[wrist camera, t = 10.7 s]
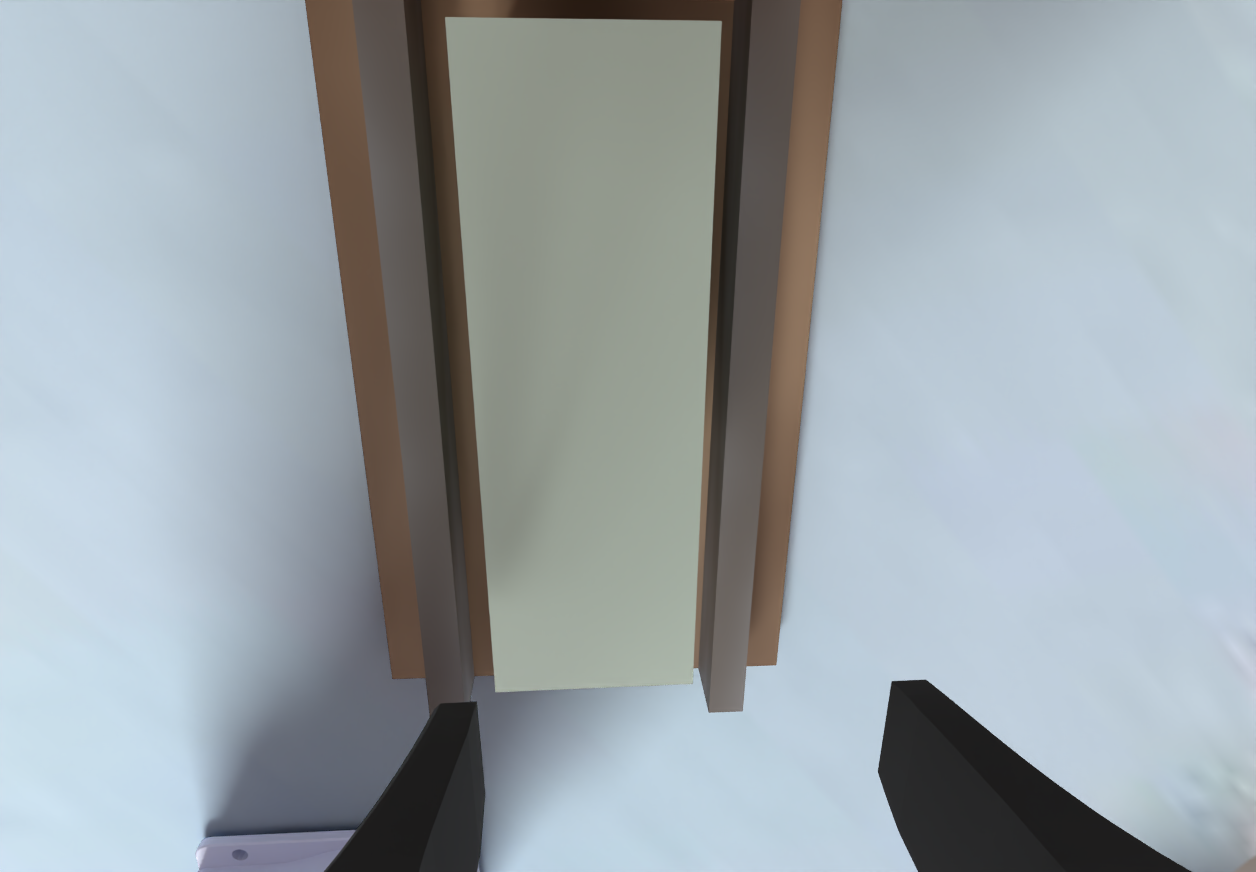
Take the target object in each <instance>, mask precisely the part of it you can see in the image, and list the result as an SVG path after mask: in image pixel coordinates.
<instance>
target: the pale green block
mask: <svg viewBox="0 0 1256 872" xmlns="http://www.w3.org/2000/svg"><path fill="white" fill-rule="evenodd" d="M445 24H446V37H447V50H448V64H449V77H450V91H451V104H452V117H453V131H454V144H455V158H456V171H457V184H458V198H459V211H460V225H461V238H462V251H463V265H464V278H465V292H466V305H467V318H468V332H469V345H470V359H471V372H472V385H473V399H474V412H475V426H476V439H477V452H478V466H479V479H480V493H481V506H482V519H483V533H484V546H485V560H486V573H487V586H488V600H489V613H490V627H491V640H492V653H493V667H494V680H495V692H514V691H538V690H562V689H585V688H609V687H633V686H656V685H680V684H693V666H694V643H695V620H696V597H697V574H698V552H699V529H700V506H701V483H702V460H703V438H704V415H705V392H706V369H707V347H708V324H709V301H710V278H711V255H712V233H713V210H714V187H715V164H716V141H717V119H718V96H719V73H720V50H721V27H722V21H691V20H620V19H548V18H476V17H445Z"/></svg>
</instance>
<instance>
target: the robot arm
mask: <svg viewBox="0 0 1256 872" xmlns="http://www.w3.org/2000/svg"><path fill="white" fill-rule="evenodd" d="M878 774H879V777H880V780H881V783H882V786H883V789H884V792H885V795H886V798H887V801H888V803H889V806H890V809H891V812H892V814H893V817H894V820H895V823H896V825H897V828H898V831H899V833H900V835H901V837H902V839H903V841H904V843H905V845H906V848H907V850H908V852H909V854H910V856H911V858H912V860H913V862H914V864H915V866H916V868H917V870H918V872H1191V871H1189V870H1188V869H1186V868H1184V867H1182V866H1181V865H1179V864H1177V863H1176V862H1174V861H1172V860H1171V859H1169V858H1167V857H1165V856H1164V855H1162V854H1160V853H1159V852H1157V851H1156V850H1154V849H1152V848H1151V847H1149V846H1148V845H1146V844H1145V843H1143V842H1141V841H1140V840H1138V839H1137V838H1135V837H1133V836H1132V835H1130V834H1129V833H1127V832H1126V831H1124V830H1122V829H1121V828H1119V827H1118V826H1116V825H1115V824H1113V823H1112V822H1110V821H1109V820H1107V819H1106V818H1104V817H1103V816H1101V815H1100V814H1098V813H1097V812H1095V811H1094V810H1092V809H1091V808H1089V807H1088V806H1087V805H1085V804H1084V803H1083V802H1081V801H1080V800H1078V799H1077V798H1076V797H1074V796H1073V795H1071V794H1070V793H1069V792H1067V791H1066V790H1064V789H1063V788H1062V787H1060V786H1059V785H1057V784H1056V783H1055V782H1053V781H1052V780H1051V779H1049V778H1048V777H1047V776H1045V775H1044V774H1043V773H1041V772H1040V771H1039V770H1037V769H1036V768H1035V767H1034V766H1032V765H1031V764H1030V763H1028V762H1027V761H1026V760H1025V759H1023V758H1022V757H1021V756H1019V755H1018V754H1017V753H1016V752H1014V751H1013V750H1012V749H1011V748H1009V747H1008V746H1007V745H1006V744H1004V743H1003V742H1002V741H1001V740H999V739H998V738H997V737H996V736H994V735H993V734H992V733H991V732H989V731H988V730H987V729H986V728H985V727H983V726H982V725H981V724H980V723H979V722H977V721H976V720H975V719H974V718H972V717H971V716H970V715H969V714H968V713H966V712H965V711H964V710H963V709H962V708H960V707H959V706H958V705H957V704H955V703H954V702H953V701H952V700H951V699H949V698H948V697H947V696H946V695H945V694H943V693H942V692H941V691H940V690H938V689H937V688H936V687H935V686H933V685H932V684H931V683H929V682H928V681H927V680H909V681H892V683H891V690H890V696H889V703H888V709H887V716H886V722H885V729H884V735H883V742H882V748H881V755H880V761H879V768H878ZM484 802H485V787H484V776H483V765H482V754H481V743H480V732H479V721H478V710H477V702H458V703H440V704H439V705H438V706H437V707H436V708H435V709H434V711H433V712H432V714H431V716H430V718H429V720H428V722H427V724H426V725H425V727H424V729H423V731H422V732H421V734H420V736H419V738H418V739H417V741H416V743H415V744H414V746H413V748H412V749H411V751H410V752H409V754H408V756H407V757H406V759H405V760H404V762H403V764H402V765H401V767H400V768H399V770H398V771H397V773H396V774H395V776H394V777H393V779H392V780H391V782H390V783H389V785H388V786H387V788H386V789H385V791H384V792H383V794H382V795H381V797H380V798H379V800H378V801H377V803H376V804H375V805H374V807H373V808H372V810H371V811H370V812H369V814H368V815H367V816H366V818H365V819H364V820H363V822H362V823H361V824H360V826H359V827H358V828H357V830H341V831H321V832H300V833H280V834H259V835H239V836H219V837H209V838H205V839H204V840H202V841H201V843H200V844H199V846H198V848H197V850H196V859H197V863H198V867H199V870H198V872H480V870H479V858H480V850H481V839H482V828H483V815H484Z"/></svg>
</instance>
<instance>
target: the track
mask: <svg viewBox="0 0 1256 872" xmlns="http://www.w3.org/2000/svg"><path fill="white" fill-rule="evenodd" d="M305 3H306V11H307V19H308V27H309V34H310V42H311V50H312V58H313V66H314V73H315V81H316V89H317V97H318V104H319V112H320V120H321V128H322V136H323V143H324V151H325V159H326V167H327V174H328V182H329V190H330V198H331V206H332V213H333V221H334V229H335V237H336V244H337V252H338V260H339V268H340V276H341V283H342V291H343V299H344V307H345V314H346V322H347V330H348V338H349V346H350V353H351V361H352V369H353V377H354V384H355V392H356V400H357V408H358V416H359V423H360V431H361V439H362V447H363V454H364V462H365V470H366V478H367V485H368V493H369V501H370V509H371V517H372V524H373V532H374V540H375V548H376V555H377V563H378V571H379V579H380V587H381V594H382V602H383V610H384V618H385V625H386V633H387V641H388V649H389V657H390V664H391V672H392V679H410V678H426V685H427V695H428V704H429V713H430V716H431V714H432V712H433V711H434V709H435V708H436V707H437V706H438V705H439V704H440V703H458V702H470V698H471V693H472V687H473V682H474V676H492V675H494V667H493V653H492V640H491V627H490V613H489V600H488V586H487V573H486V560H485V546H484V533H483V519H482V506H481V493H480V479H479V466H478V452H477V439H476V426H475V412H474V399H473V385H472V372H471V359H470V345H469V332H468V318H467V305H466V292H465V278H464V265H463V251H462V238H461V225H460V211H459V198H458V184H457V171H456V158H455V144H454V131H453V117H452V104H451V91H450V77H449V64H448V50H447V37H446V24H445V17H476V18H548V19H620V20H691V21H722V27H721V50H720V73H719V96H718V119H717V141H716V164H715V187H714V210H713V233H712V255H711V278H710V301H709V324H708V347H707V369H706V392H705V415H704V438H703V460H702V483H701V506H700V529H699V552H698V574H697V597H696V620H695V643H694V666H693V668H698V669H699V673H700V677H701V681H702V686H703V690H704V694H705V698H706V703H707V707H708V711H709V713H711V712H736V711H743V701H744V689H745V677H746V666H767V665H776V663H777V653H778V642H779V632H780V622H781V612H782V602H783V592H784V582H785V572H786V562H787V552H788V542H789V532H790V522H791V512H792V502H793V492H794V482H795V472H796V461H797V451H798V441H799V431H800V421H801V411H802V401H803V391H804V381H805V371H806V361H807V351H808V341H809V331H810V321H811V311H812V301H813V291H814V281H815V270H816V260H817V250H818V240H819V230H820V220H821V210H822V200H823V190H824V180H825V170H826V160H827V150H828V140H829V130H830V120H831V110H832V100H833V89H834V79H835V69H836V59H837V49H838V39H839V29H840V19H841V9H842V0H305Z"/></svg>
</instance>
